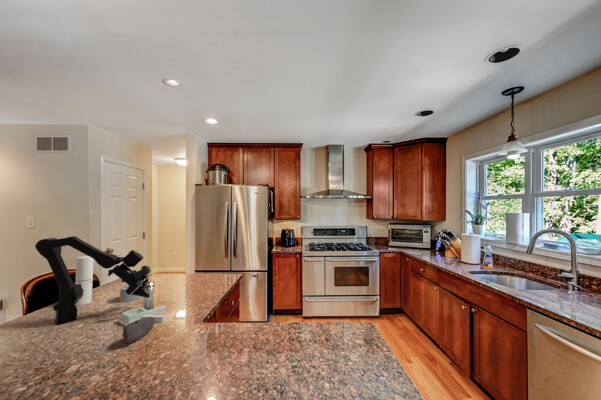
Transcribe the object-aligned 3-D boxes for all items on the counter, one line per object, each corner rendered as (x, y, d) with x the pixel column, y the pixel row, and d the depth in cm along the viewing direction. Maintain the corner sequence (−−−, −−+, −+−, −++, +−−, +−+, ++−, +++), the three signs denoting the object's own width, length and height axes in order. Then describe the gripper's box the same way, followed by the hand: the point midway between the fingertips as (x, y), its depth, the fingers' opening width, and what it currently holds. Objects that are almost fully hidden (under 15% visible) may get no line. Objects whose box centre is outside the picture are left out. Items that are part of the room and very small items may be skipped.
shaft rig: (135, 332, 100) (135, 322, 100) (117, 321, 110) (118, 313, 110) (179, 315, 116) (179, 307, 116) (160, 307, 125) (161, 300, 126)
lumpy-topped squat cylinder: (149, 295, 144) (149, 281, 145) (127, 303, 132) (128, 287, 133) (136, 293, 148) (137, 279, 148) (114, 301, 135) (115, 285, 136)
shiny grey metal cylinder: (146, 312, 120) (147, 284, 120) (142, 310, 122) (143, 282, 123) (155, 309, 123) (155, 282, 124) (151, 308, 125) (151, 280, 126)
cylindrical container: (70, 304, 131) (73, 257, 132) (86, 299, 138) (88, 255, 139) (80, 305, 129) (82, 258, 130) (94, 301, 136) (96, 256, 137)
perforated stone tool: (149, 327, 104) (150, 311, 104) (159, 328, 103) (160, 312, 103) (116, 346, 89) (116, 327, 90) (127, 348, 88) (128, 328, 89)
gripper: (134, 265, 113) (160, 286, 117) (144, 258, 131) (166, 277, 134) (113, 284, 110) (141, 305, 114) (126, 274, 128) (150, 293, 131)
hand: (151, 293), depth 123 cm, fingers open, 9 cm apart
